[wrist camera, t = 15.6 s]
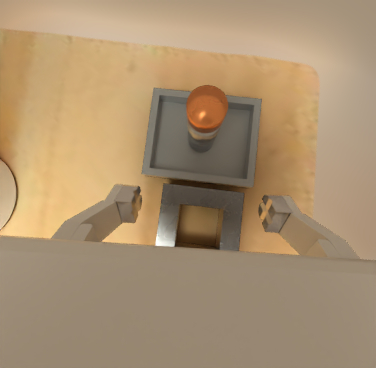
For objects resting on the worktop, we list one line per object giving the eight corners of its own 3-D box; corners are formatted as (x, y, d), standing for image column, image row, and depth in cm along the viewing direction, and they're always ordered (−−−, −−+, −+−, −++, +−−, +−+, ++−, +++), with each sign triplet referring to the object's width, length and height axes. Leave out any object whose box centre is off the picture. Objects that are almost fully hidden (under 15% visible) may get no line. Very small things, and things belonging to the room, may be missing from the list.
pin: (186, 151, 26) (184, 123, 16) (189, 125, 26) (188, 83, 16) (212, 154, 26) (225, 127, 16) (215, 128, 26) (230, 87, 16)
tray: (146, 176, 27) (141, 174, 24) (157, 97, 28) (153, 87, 25) (247, 188, 26) (253, 187, 24) (255, 107, 27) (261, 98, 25)
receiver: (157, 256, 26) (152, 265, 22) (167, 184, 26) (163, 183, 23) (229, 265, 25) (236, 276, 22) (237, 193, 26) (244, 192, 23)
